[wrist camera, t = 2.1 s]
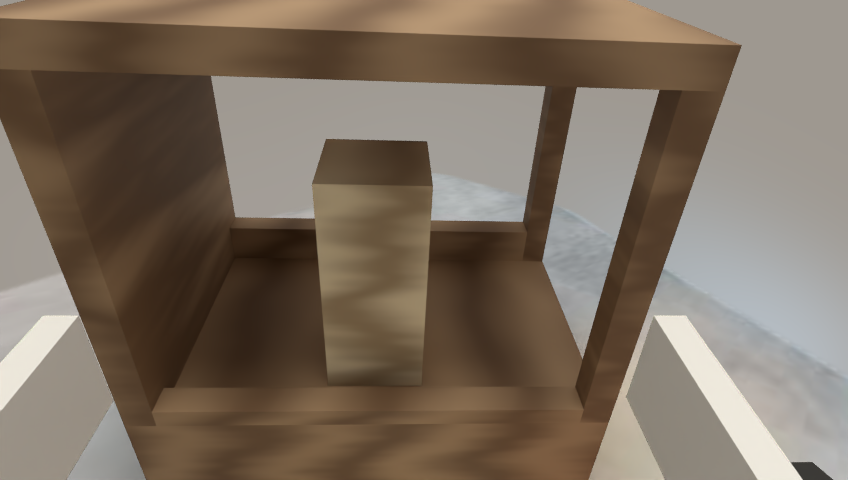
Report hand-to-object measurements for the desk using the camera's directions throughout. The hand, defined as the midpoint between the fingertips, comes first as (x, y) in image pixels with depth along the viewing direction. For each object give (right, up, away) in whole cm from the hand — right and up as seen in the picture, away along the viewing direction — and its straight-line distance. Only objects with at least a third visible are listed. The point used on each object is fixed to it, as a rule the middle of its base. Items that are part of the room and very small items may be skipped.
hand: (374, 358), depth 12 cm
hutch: (-2, -8, +24) cm, 25 cm away
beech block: (-2, -4, +18) cm, 18 cm away
